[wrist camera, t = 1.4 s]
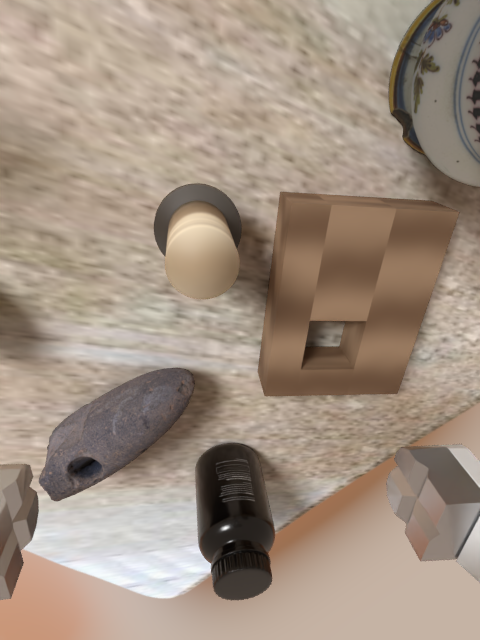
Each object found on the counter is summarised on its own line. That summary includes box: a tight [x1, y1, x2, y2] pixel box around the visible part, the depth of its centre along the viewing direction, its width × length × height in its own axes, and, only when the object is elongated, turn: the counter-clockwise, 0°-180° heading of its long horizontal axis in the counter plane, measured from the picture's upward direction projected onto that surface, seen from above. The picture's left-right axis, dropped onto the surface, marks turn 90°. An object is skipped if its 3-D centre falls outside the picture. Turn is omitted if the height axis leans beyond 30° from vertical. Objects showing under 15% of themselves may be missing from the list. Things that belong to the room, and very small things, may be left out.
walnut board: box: [258, 192, 459, 396], centre depth 32 cm, size 16×12×4 cm
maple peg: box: [154, 184, 241, 299], centre depth 25 cm, size 6×6×10 cm
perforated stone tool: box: [39, 368, 195, 501], centre depth 33 cm, size 15×5×7 cm, turn 121°
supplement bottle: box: [195, 443, 275, 600], centre depth 37 cm, size 7×7×12 cm
